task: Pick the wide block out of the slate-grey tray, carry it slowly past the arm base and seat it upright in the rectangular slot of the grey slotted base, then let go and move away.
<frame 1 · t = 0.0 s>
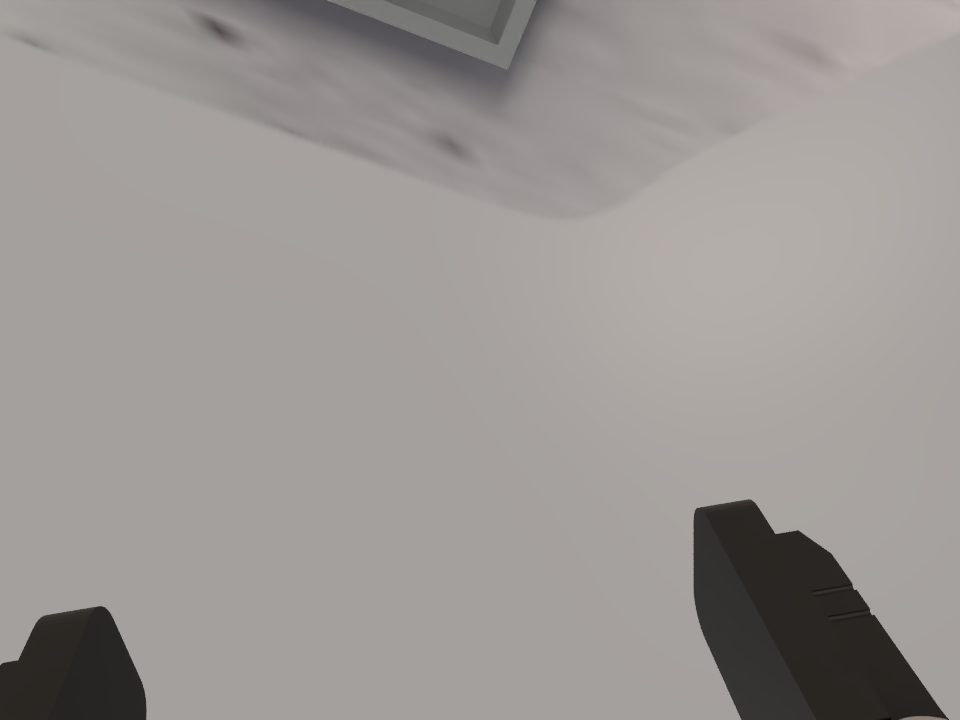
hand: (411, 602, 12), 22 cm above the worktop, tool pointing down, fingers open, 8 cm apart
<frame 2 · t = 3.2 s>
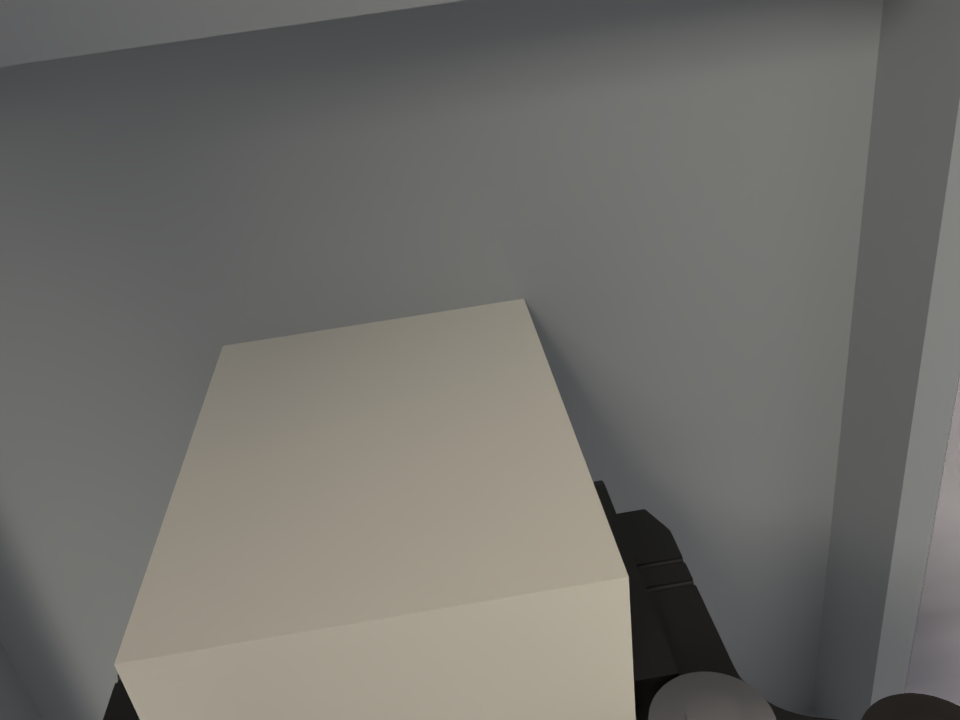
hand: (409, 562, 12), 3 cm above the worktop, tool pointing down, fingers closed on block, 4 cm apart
tray: (405, 462, 15), on the worktop
block: (407, 483, 14), point 1 cm above the worktop, touching gripper, tray
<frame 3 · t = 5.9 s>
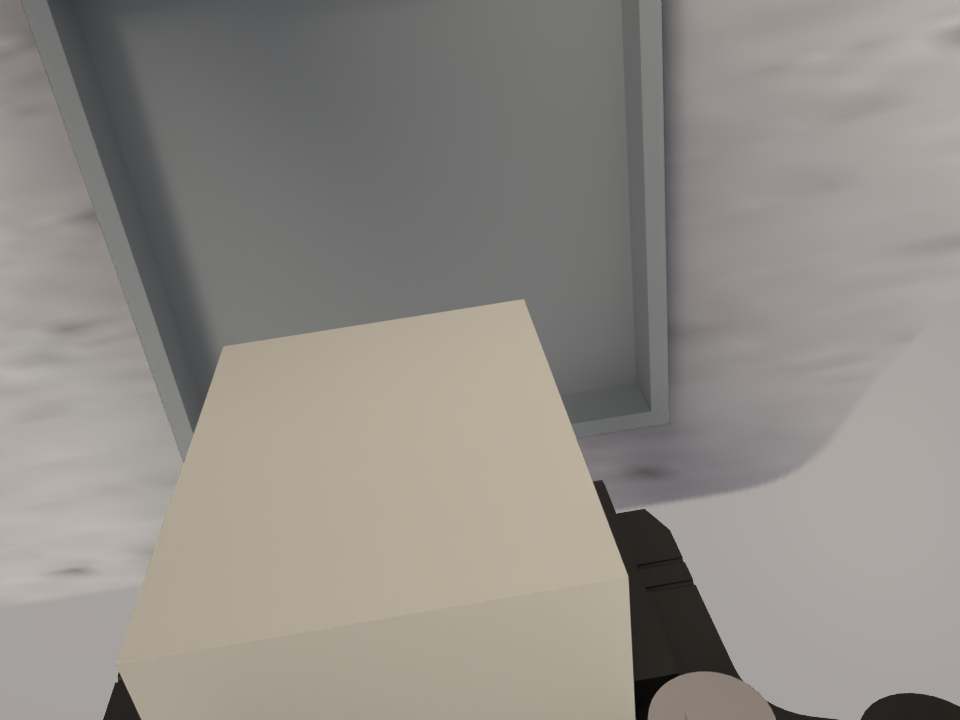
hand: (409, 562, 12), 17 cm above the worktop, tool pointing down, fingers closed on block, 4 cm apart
tray: (393, 209, 27), on the worktop
block: (407, 484, 14), point 15 cm above the worktop, touching gripper
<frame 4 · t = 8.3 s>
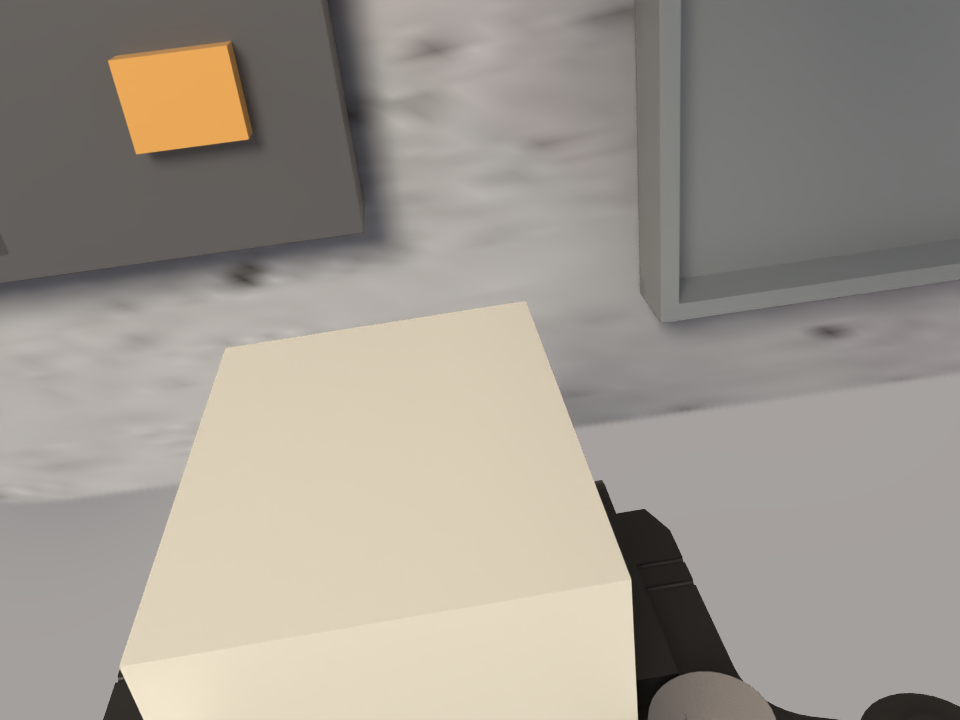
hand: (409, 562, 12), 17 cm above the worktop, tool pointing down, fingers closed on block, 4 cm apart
tray: (887, 22, 27), on the worktop
grey slotted base: (32, 99, 25), on the worktop
block: (408, 485, 14), point 15 cm above the worktop, touching gripper
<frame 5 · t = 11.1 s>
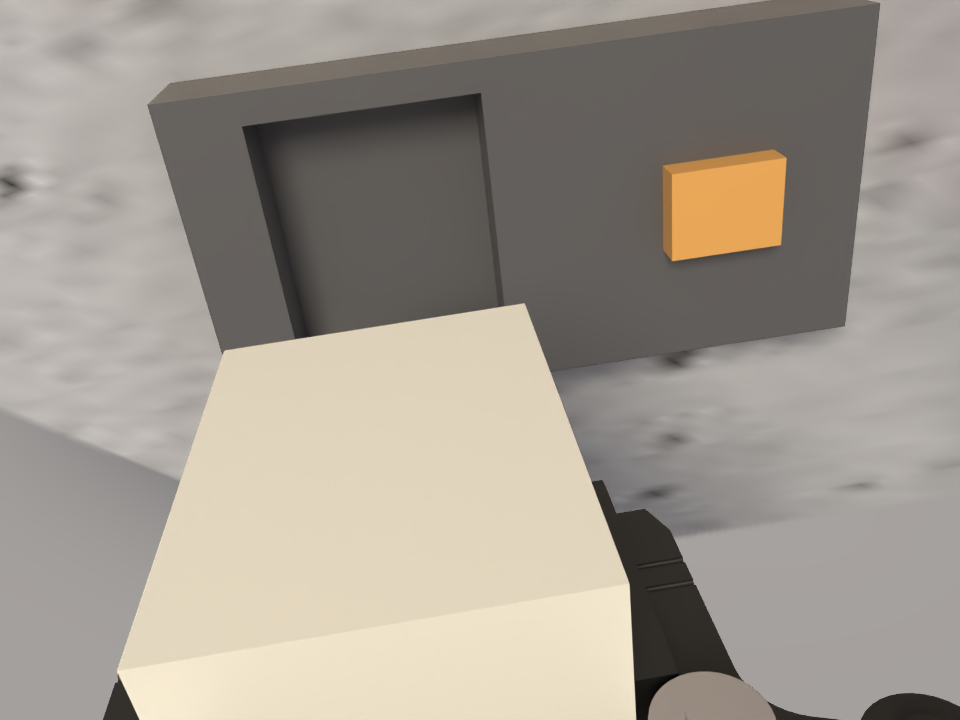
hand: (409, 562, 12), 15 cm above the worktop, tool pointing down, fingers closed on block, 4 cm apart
grey slotted base: (520, 197, 25), on the worktop
block: (407, 487, 14), point 13 cm above the worktop, touching gripper
when the fingers open (3 cm above the worktop, at t = 13.6 s): block stays where it is, resting on grey slotted base.
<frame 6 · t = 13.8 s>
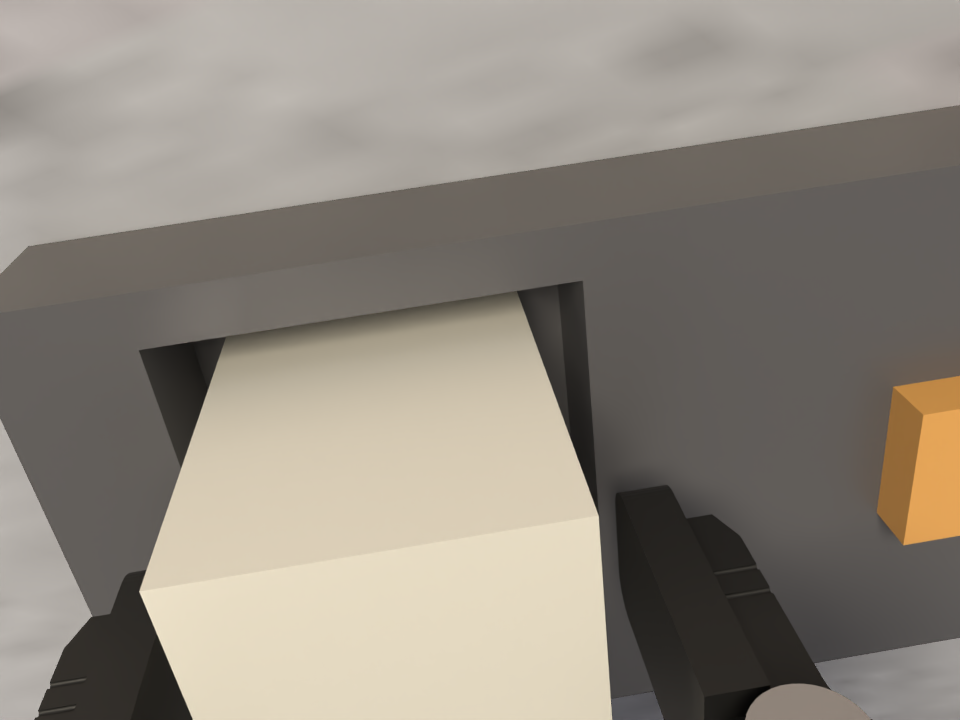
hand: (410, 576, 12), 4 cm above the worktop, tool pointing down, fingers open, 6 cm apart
grey slotted base: (622, 402, 15), on the worktop
block: (403, 454, 15), resting on grey slotted base
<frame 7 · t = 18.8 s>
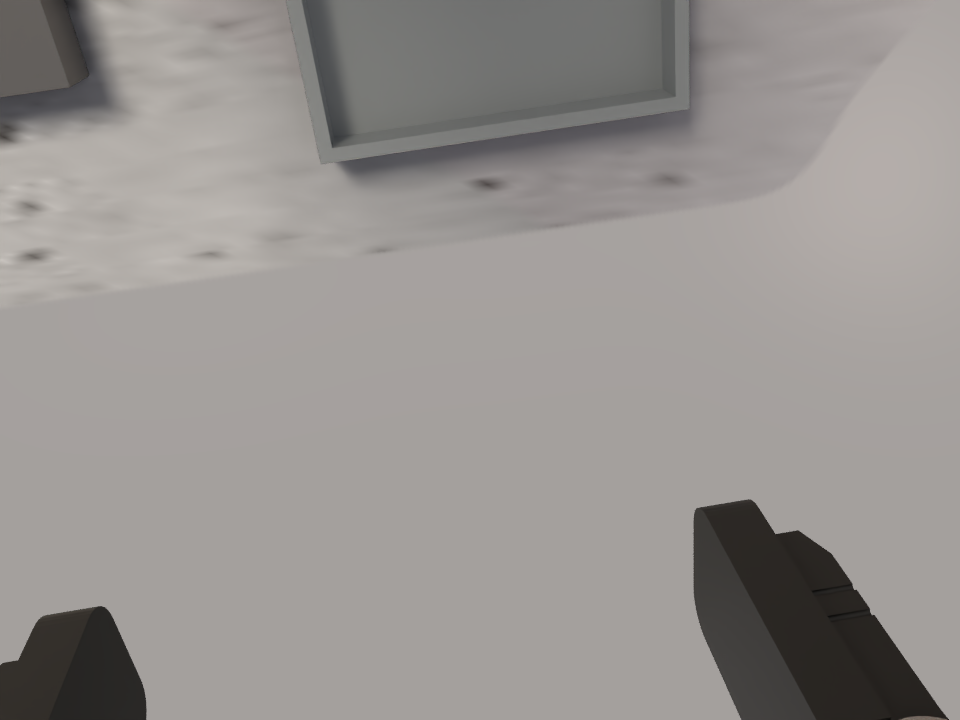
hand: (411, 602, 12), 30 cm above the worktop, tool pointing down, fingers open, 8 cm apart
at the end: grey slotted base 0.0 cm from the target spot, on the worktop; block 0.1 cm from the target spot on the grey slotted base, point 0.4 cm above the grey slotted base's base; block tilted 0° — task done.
